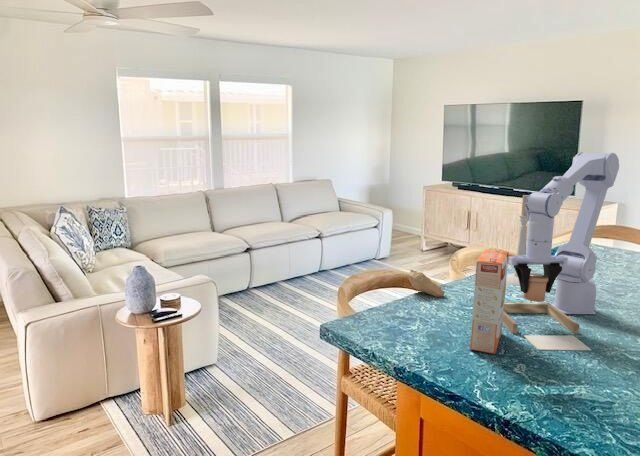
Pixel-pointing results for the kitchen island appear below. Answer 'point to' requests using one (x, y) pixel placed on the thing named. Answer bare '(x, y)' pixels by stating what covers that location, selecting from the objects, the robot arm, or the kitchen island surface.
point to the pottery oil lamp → (424, 284)
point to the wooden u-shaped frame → (537, 308)
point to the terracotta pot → (536, 287)
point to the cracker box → (489, 300)
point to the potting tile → (556, 342)
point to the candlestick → (520, 242)
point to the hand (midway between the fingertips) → (535, 291)
